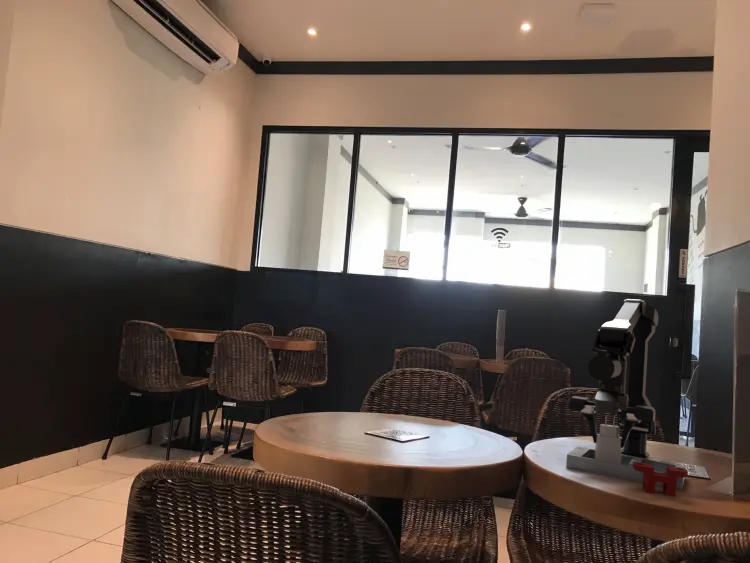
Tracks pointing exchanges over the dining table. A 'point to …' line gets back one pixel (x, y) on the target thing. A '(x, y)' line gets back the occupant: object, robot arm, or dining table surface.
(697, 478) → the dining table surface
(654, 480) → the bracket
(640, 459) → the grey rectangular tray
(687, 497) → the dining table surface
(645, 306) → the robot arm
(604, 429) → the power adapter
